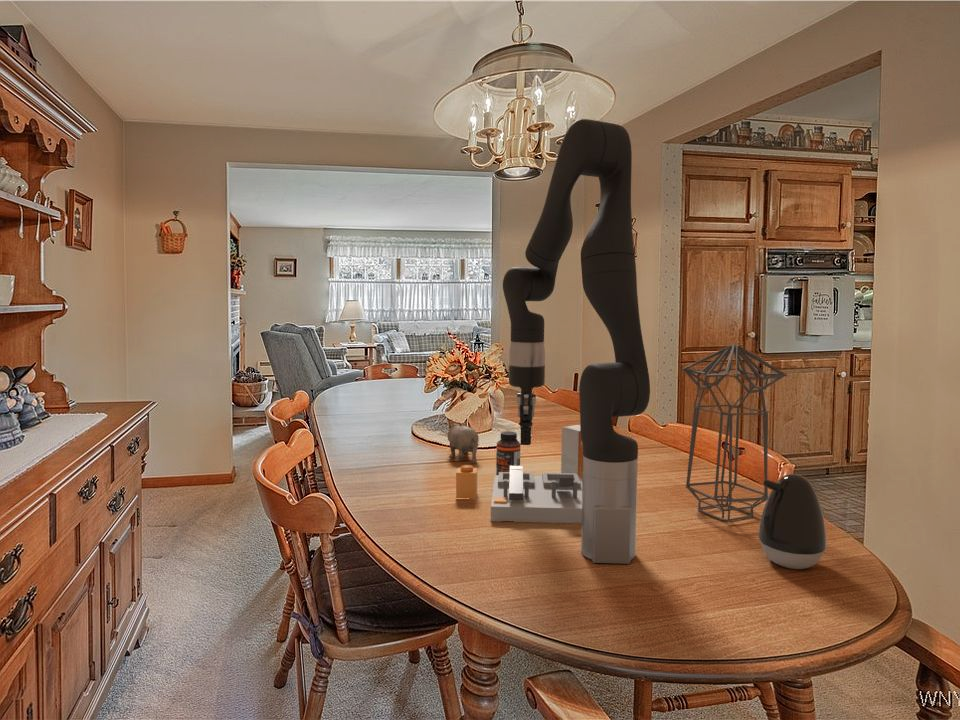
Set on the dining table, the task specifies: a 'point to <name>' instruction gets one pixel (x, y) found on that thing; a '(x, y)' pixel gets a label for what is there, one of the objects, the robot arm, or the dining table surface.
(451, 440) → the rhinoceros figurine
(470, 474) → the cap
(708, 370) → the geometric lantern
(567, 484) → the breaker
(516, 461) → the supplement bottle
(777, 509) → the pump dispenser
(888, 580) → the dining table surface
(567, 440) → the small box
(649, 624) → the dining table surface
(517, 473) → the breaker
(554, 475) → the breaker panel
